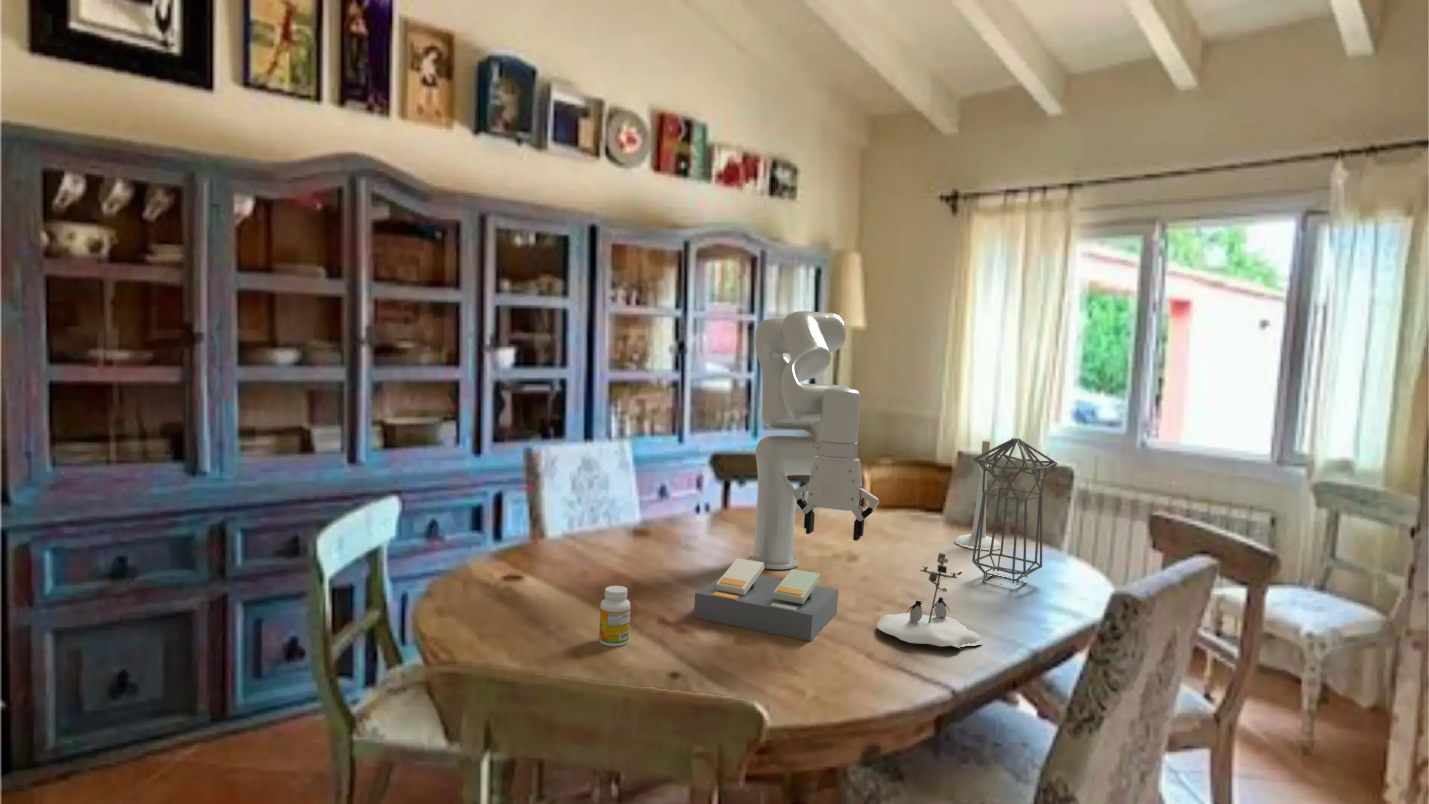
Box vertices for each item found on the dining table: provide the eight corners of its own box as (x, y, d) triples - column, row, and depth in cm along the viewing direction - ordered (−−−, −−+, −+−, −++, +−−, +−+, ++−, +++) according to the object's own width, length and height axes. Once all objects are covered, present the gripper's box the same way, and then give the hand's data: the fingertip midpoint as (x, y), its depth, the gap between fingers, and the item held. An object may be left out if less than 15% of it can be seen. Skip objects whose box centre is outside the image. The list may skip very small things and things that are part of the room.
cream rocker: (737, 564, 178) (737, 557, 178) (764, 568, 176) (764, 561, 176) (716, 589, 169) (716, 582, 168) (744, 595, 167) (744, 587, 166)
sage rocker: (791, 575, 174) (791, 567, 173) (820, 580, 171) (820, 572, 171) (773, 598, 164) (773, 591, 164) (803, 604, 162) (803, 596, 161)
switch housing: (729, 593, 184) (730, 565, 183) (836, 613, 174) (838, 584, 174) (693, 617, 167) (695, 587, 167) (810, 641, 158) (812, 609, 157)
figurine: (914, 655, 152) (927, 565, 151) (858, 622, 168) (869, 541, 168) (1001, 653, 160) (1013, 568, 159) (938, 622, 176) (950, 545, 176)
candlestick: (1006, 544, 241) (1015, 440, 238) (995, 553, 230) (1004, 444, 227) (961, 536, 248) (969, 435, 245) (948, 545, 237) (956, 438, 234)
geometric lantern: (1049, 584, 203) (1062, 440, 200) (1022, 597, 192) (1035, 444, 189) (987, 569, 214) (999, 432, 211) (958, 580, 203) (969, 435, 199)
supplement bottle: (599, 635, 155) (601, 583, 154) (629, 636, 156) (631, 584, 155) (598, 646, 150) (600, 593, 149) (628, 647, 150) (631, 594, 149)
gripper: (790, 448, 167) (785, 533, 169) (877, 457, 160) (871, 546, 162) (801, 444, 174) (797, 526, 175) (885, 453, 167) (880, 538, 169)
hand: (832, 536), depth 169 cm, fingers open, 9 cm apart
